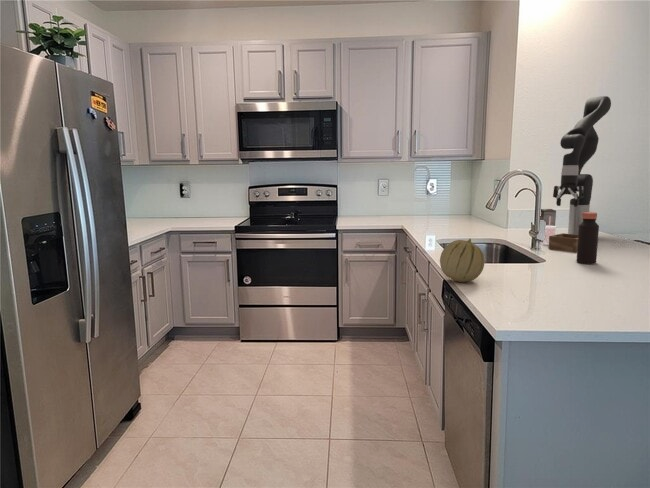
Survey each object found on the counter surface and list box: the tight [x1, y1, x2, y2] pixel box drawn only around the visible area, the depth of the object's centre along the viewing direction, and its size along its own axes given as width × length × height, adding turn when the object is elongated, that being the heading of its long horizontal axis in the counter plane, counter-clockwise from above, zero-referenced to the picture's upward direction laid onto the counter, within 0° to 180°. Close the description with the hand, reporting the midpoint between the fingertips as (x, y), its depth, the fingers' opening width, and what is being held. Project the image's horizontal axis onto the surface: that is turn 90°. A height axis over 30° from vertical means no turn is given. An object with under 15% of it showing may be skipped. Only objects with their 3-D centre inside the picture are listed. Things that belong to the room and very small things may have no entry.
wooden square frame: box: [548, 232, 578, 253], centre depth 201 cm, size 12×12×6 cm
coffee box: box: [540, 208, 557, 226], centre depth 224 cm, size 9×6×16 cm
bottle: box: [575, 211, 600, 265], centre depth 171 cm, size 7×7×20 cm
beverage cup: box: [542, 216, 557, 246], centre depth 213 cm, size 6×6×14 cm
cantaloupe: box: [439, 238, 485, 283], centre depth 149 cm, size 15×15×15 cm
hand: (567, 206), depth 223 cm, fingers open, 8 cm apart
